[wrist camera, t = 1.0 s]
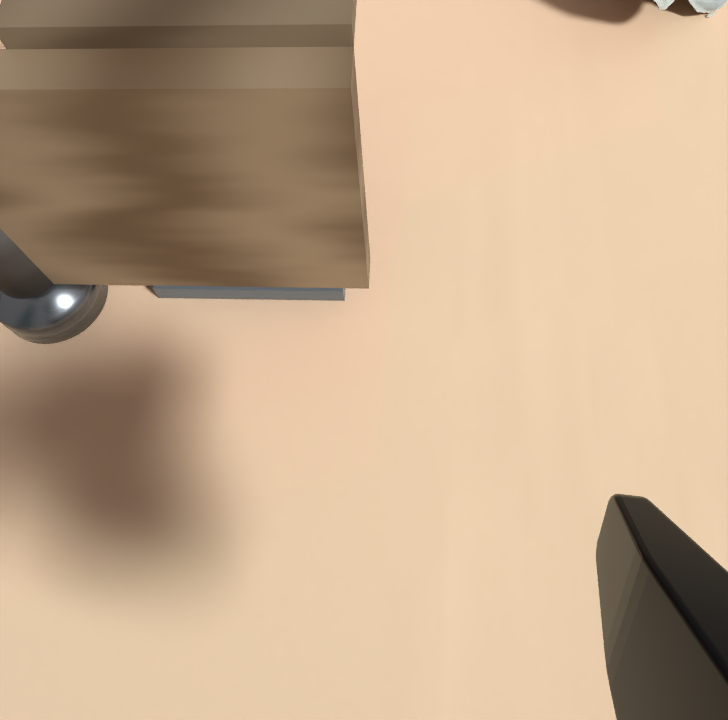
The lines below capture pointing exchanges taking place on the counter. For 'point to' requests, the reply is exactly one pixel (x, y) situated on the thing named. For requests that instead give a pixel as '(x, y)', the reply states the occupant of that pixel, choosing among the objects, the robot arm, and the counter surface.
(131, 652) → the counter surface
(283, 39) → the brown wooden block
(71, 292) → the pivot foot
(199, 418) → the counter surface
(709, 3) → the artificial flower
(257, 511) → the counter surface
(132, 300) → the counter surface
